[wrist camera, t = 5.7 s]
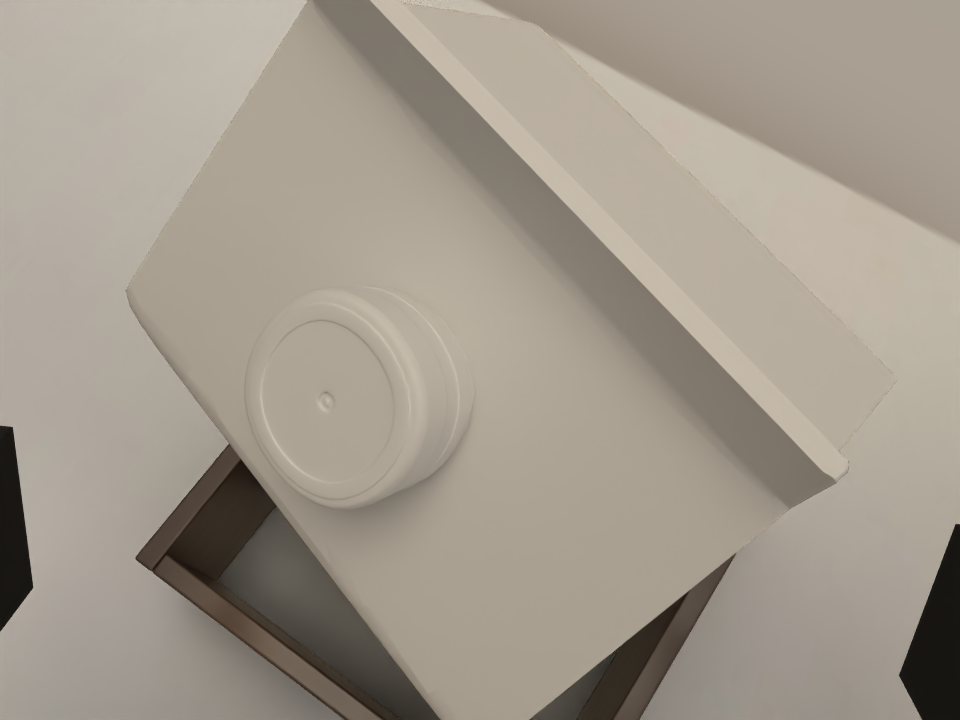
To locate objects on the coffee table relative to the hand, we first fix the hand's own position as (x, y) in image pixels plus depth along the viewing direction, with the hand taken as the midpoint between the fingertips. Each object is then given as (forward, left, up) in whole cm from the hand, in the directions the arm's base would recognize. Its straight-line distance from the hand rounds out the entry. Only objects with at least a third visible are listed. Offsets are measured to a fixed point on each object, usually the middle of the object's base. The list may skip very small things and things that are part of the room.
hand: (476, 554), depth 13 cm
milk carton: (+1, -2, -13) cm, 13 cm away
